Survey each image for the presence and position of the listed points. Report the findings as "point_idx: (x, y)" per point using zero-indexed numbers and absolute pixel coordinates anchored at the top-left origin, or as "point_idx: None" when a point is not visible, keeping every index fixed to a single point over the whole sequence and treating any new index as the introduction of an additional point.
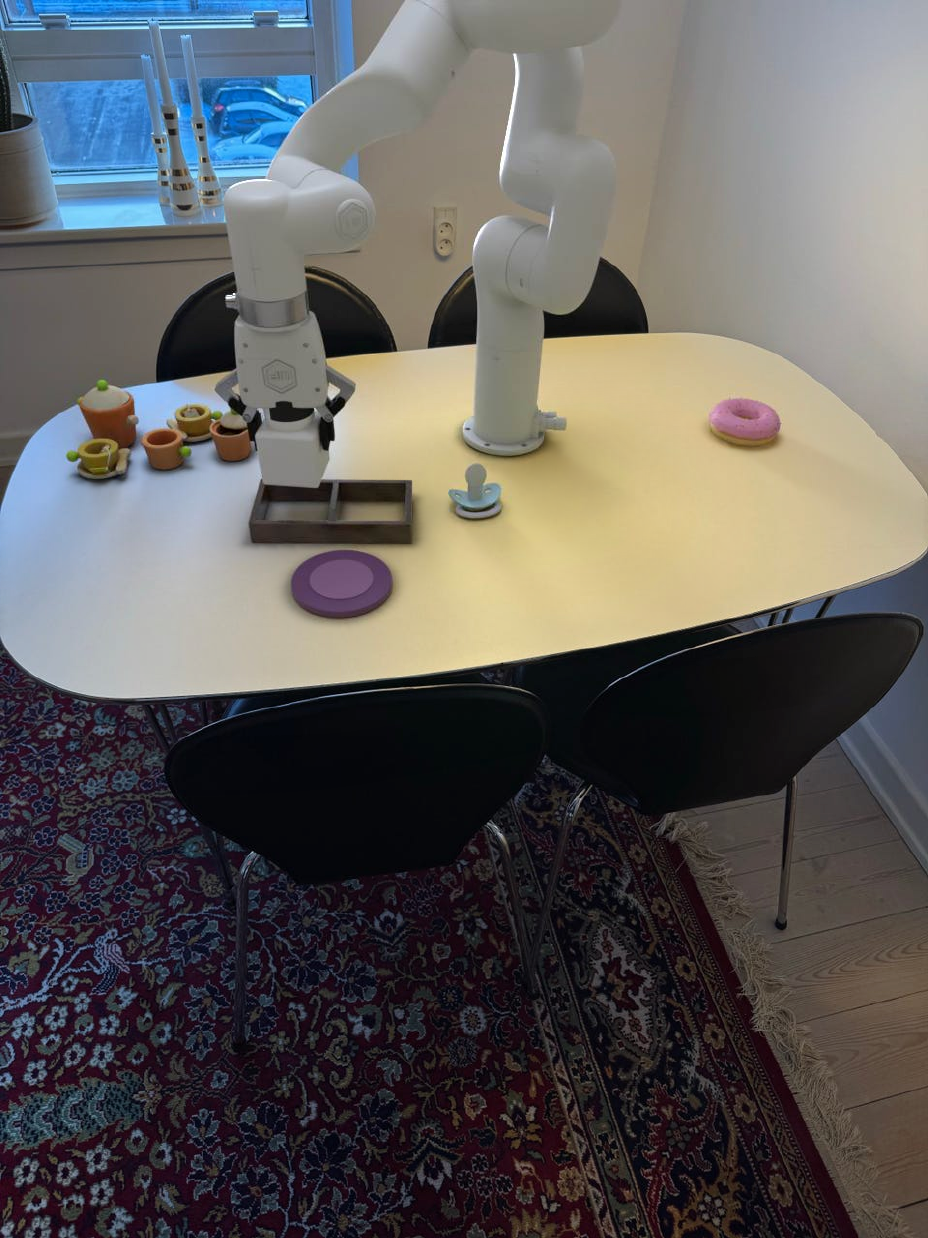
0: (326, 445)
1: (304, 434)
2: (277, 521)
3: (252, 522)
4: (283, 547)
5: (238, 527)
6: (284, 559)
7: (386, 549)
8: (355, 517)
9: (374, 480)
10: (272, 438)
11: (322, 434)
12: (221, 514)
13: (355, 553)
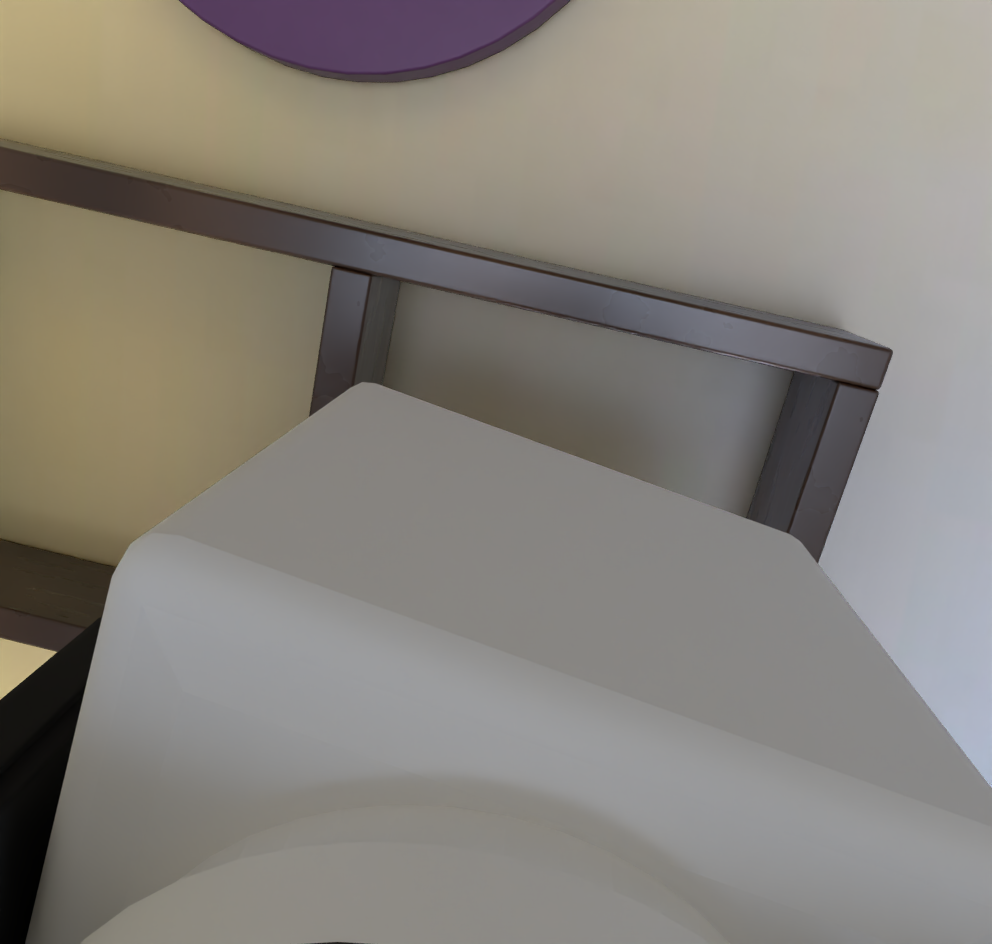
0: (86, 641)
1: (236, 684)
2: (698, 329)
3: (866, 354)
4: (670, 245)
5: (890, 498)
6: (682, 117)
7: (91, 99)
8: (244, 451)
9: (64, 644)
10: (782, 752)
11: (33, 743)
12: (960, 639)
13: (251, 11)
